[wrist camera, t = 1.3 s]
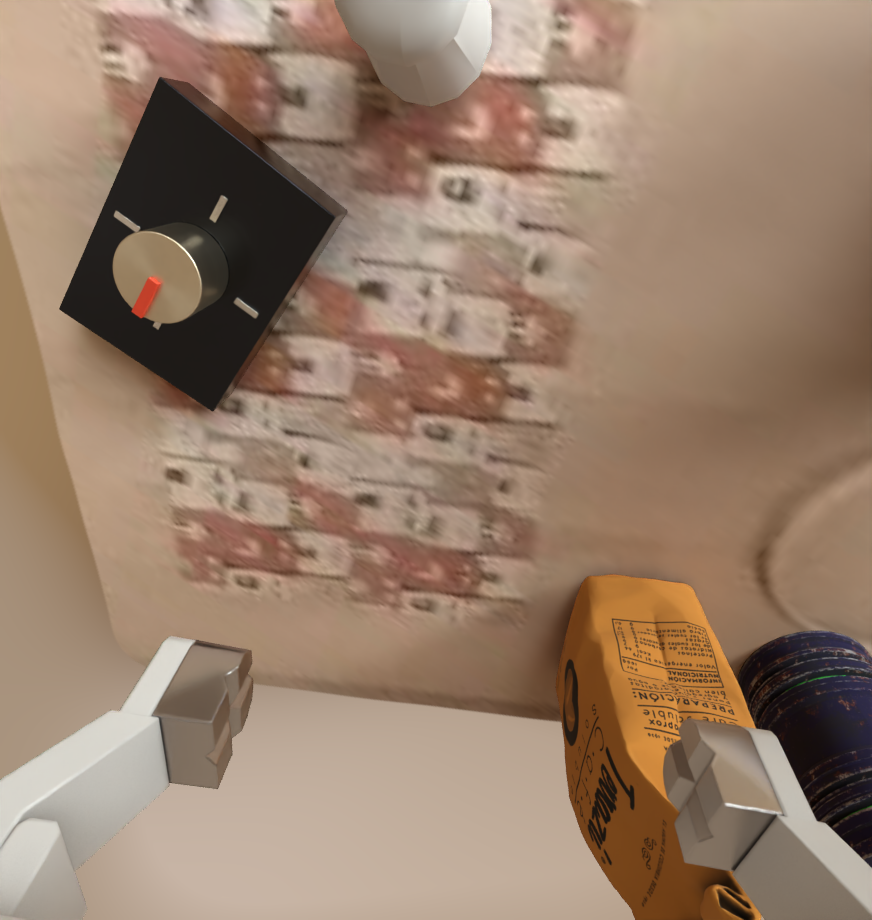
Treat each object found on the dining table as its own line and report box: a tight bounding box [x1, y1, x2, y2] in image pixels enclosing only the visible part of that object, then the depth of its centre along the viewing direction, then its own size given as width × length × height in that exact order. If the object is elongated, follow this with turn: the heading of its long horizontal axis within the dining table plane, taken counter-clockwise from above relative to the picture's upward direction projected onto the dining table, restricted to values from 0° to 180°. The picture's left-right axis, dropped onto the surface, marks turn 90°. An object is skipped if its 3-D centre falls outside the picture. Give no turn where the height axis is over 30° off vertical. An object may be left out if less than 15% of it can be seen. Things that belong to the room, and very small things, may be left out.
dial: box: [113, 222, 229, 324], centre depth 30 cm, size 4×4×4 cm
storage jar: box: [738, 631, 872, 868], centre depth 39 cm, size 10×10×15 cm
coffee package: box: [556, 574, 761, 920], centre depth 36 cm, size 10×12×22 cm
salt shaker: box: [335, 0, 491, 107], centre depth 23 cm, size 6×6×13 cm
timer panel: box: [59, 77, 347, 411], centre depth 33 cm, size 14×10×3 cm
